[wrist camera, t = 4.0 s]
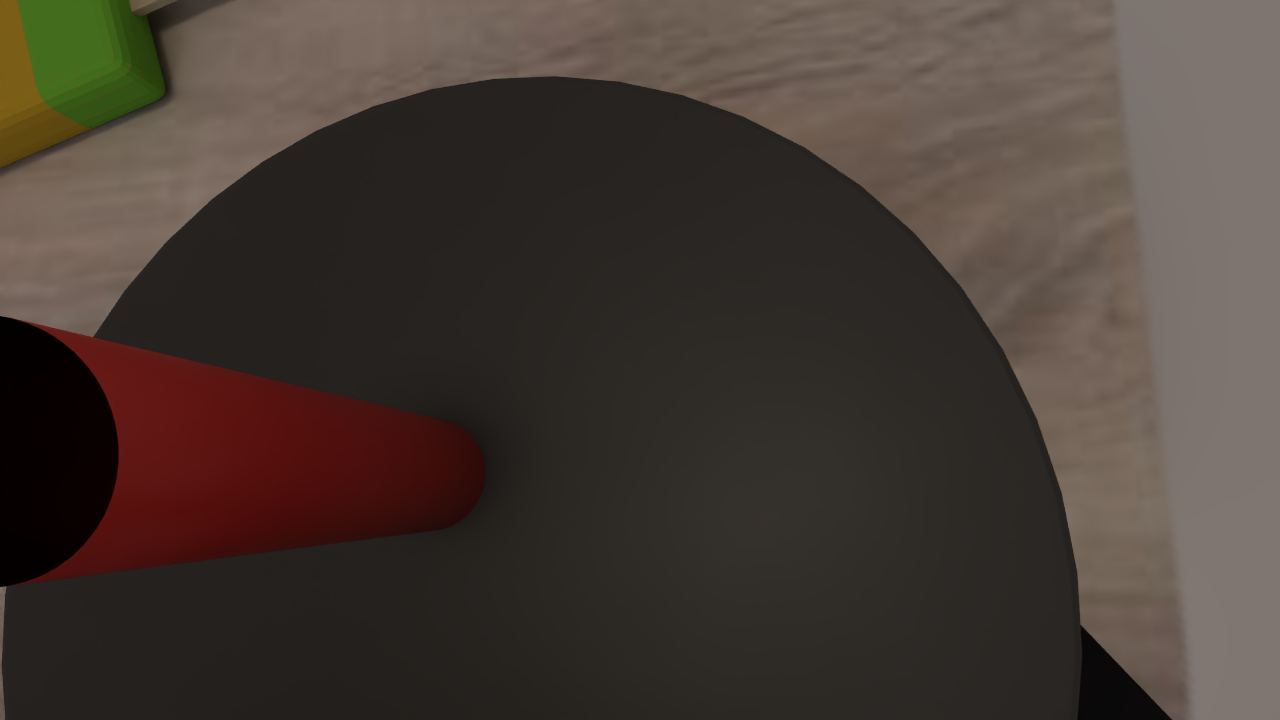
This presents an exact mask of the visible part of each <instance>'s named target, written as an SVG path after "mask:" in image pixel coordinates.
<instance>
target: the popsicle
mask: <svg viewBox="0 0 1280 720" xmlns="http://www.w3.org/2000/svg"><path fill="white" fill-rule="evenodd" d="M175 1H177V0H0V168H1V167H4V166H6V165H8V164H11V163H13V162H15V161H17V160H20V159H22V158H24V157H27V156H29V155H31V154H34V153H36V152H38V151H41V150H43V149H45V148H48V147H50V146H52V145H55V144H57V143H59V142H62V141H64V140H66V139H69V138H71V137H73V136H76V135H78V134H80V133H83V132H85V131H87V130H90V129H92V128H94V127H97V126H99V125H101V124H103V123H106V122H108V121H110V120H113V119H115V118H117V117H120V116H122V115H124V114H127V113H129V112H131V111H134V110H136V109H138V108H141V107H143V106H145V105H148V104H150V103H152V102H155V101H157V100H158V99H160V98H161V97H162V96H163V95H164V94H165V90H166V89H165V83H164V79H163V75H162V71H161V67H160V64H159V60H158V56H157V52H156V48H155V44H154V41H153V37H152V33H151V29H150V25H149V21H148V17H147V14H148V13H150V12H152V11H155V10H157V9H159V8H161V7H164V6H166V5H168V4H171V3H173V2H175Z"/></svg>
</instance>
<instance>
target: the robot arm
mask: <svg viewBox="0 0 1280 720" xmlns="http://www.w3.org/2000/svg"><path fill="white" fill-rule="evenodd" d="M1080 627H1081V644H1082V665H1081V678H1080V691H1079V705H1078V718H1077V720H1172V719H1171V718H1170V717H1169V716H1168V715H1167V714H1166V713H1165V712H1164V711H1163V710H1162V709H1161V708H1160V707H1159V706H1158V705H1157V704H1156V703H1155V702H1154V701H1153V700H1152V699H1151V697H1150V696H1149V695H1148V694H1147V693H1146V692H1145V691H1144V690H1143V689H1142V688H1141V687H1140V686H1139V685H1138V684H1137V683H1136V682H1135V681H1134V680H1133V679H1132V678H1131V677H1130V676H1129V675H1128V674H1127V673H1126V672H1125V670H1124V669H1123V668H1122V667H1121V666H1120V665H1119V664H1118V663H1117V662H1116V661H1115V660H1114V659H1113V658H1112V657H1111V656H1110V655H1109V654H1108V653H1107V652H1106V651H1105V650H1104V649H1103V648H1102V647H1101V646H1100V645H1099V643H1098V642H1097V641H1096V640H1095V639H1094V638H1093V637H1092V636H1091V635H1090V634H1089V633H1088V632H1087V631H1086V630H1085V629H1084V628H1083V627H1082V626H1081V625H1080Z"/></svg>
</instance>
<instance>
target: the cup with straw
mask: <svg viewBox="0 0 1280 720" xmlns="http://www.w3.org/2000/svg"><path fill="white" fill-rule="evenodd" d="M4 586H7V588H6V594H5V610H4V632H3V653H2V674H3V690H4V705H5V720H1077V718H1078V705H1079V691H1080V678H1081V665H1082V644H1081V627H1080V611H1079V594H1078V577H1077V569H1076V564H1075V559H1074V554H1073V549H1072V544H1071V538H1070V533H1069V528H1068V523H1067V518H1066V513H1065V508H1064V503H1063V497H1062V493H1061V490H1060V487H1059V484H1058V481H1057V478H1056V475H1055V472H1054V469H1053V466H1052V463H1051V460H1050V457H1049V454H1048V451H1047V448H1046V445H1045V442H1044V439H1043V436H1042V433H1041V430H1040V427H1039V424H1038V421H1037V419H1036V417H1035V415H1034V413H1033V411H1032V408H1031V406H1030V404H1029V402H1028V400H1027V398H1026V396H1025V394H1024V392H1023V390H1022V388H1021V386H1020V384H1019V382H1018V380H1017V378H1016V376H1015V374H1014V372H1013V370H1012V368H1011V366H1010V363H1009V361H1008V359H1007V357H1006V355H1005V353H1004V351H1003V349H1002V348H1001V346H1000V345H999V343H998V342H997V340H996V339H995V337H994V336H993V334H992V333H991V331H990V330H989V328H988V327H987V325H986V324H985V322H984V321H983V319H982V318H981V316H980V315H979V313H978V312H977V310H976V309H975V307H974V306H973V304H972V303H971V301H970V300H969V298H968V297H967V295H966V294H965V292H964V291H963V289H962V288H961V286H960V285H959V284H958V283H957V282H956V281H955V280H954V278H953V277H952V276H951V275H950V274H949V273H948V272H947V270H946V269H945V268H944V267H943V266H942V265H941V263H940V262H939V261H938V260H937V259H936V258H935V257H934V255H933V254H932V253H931V252H930V251H929V250H928V248H927V247H926V246H925V245H924V244H923V243H922V242H921V240H920V239H919V238H918V237H917V236H916V235H915V234H914V233H913V232H912V231H911V230H910V229H909V228H908V227H907V226H906V225H904V224H903V223H902V222H901V221H900V220H899V219H898V218H897V217H895V216H894V215H893V214H892V213H891V212H890V211H889V210H888V209H886V208H885V207H884V206H883V205H882V204H881V203H880V202H879V201H877V200H876V199H875V198H874V197H873V196H872V195H871V194H870V193H868V192H867V191H866V190H865V189H864V188H863V187H862V186H860V185H859V184H857V183H856V182H854V181H853V180H851V179H850V178H848V177H847V176H845V175H844V174H842V173H841V172H840V171H838V170H837V169H835V168H834V167H832V166H831V165H829V164H828V163H826V162H825V161H823V160H822V159H820V158H819V157H817V156H816V155H814V154H813V153H812V152H810V151H809V150H807V149H806V148H804V147H802V146H800V145H798V144H796V143H794V142H792V141H790V140H788V139H786V138H784V137H782V136H781V135H779V134H777V133H775V132H773V131H771V130H769V129H767V128H765V127H763V126H761V125H759V124H757V123H755V122H753V121H751V120H749V119H747V118H745V117H742V116H740V115H737V114H734V113H731V112H728V111H725V110H723V109H720V108H717V107H714V106H711V105H708V104H705V103H703V102H700V101H697V100H694V99H691V98H688V97H686V96H683V95H679V94H674V93H669V92H665V91H660V90H655V89H651V88H646V87H641V86H636V85H632V84H627V83H622V82H616V81H604V80H592V79H580V78H568V77H556V76H555V77H531V78H507V79H491V80H485V81H479V82H473V83H467V84H461V85H455V86H449V87H443V88H437V89H431V90H428V91H424V92H421V93H418V94H414V95H411V96H407V97H404V98H401V99H397V100H394V101H390V102H387V103H384V104H380V105H377V106H373V107H371V108H369V109H366V110H364V111H362V112H359V113H357V114H355V115H352V116H350V117H348V118H345V119H343V120H341V121H338V122H336V123H334V124H331V125H329V126H327V127H324V128H322V129H320V130H317V131H315V132H314V133H312V134H310V135H308V136H307V137H305V138H303V139H301V140H300V141H298V142H296V143H294V144H293V145H291V146H289V147H288V148H286V149H284V150H282V151H281V152H279V153H277V154H275V155H274V156H272V157H270V158H268V159H267V160H265V161H263V162H262V163H260V164H259V165H258V166H256V167H255V168H254V169H252V170H251V171H250V172H248V173H247V174H246V175H244V176H243V177H241V178H240V179H239V180H237V181H236V182H235V183H233V184H232V185H231V186H229V187H228V188H227V189H225V190H224V191H223V192H221V193H220V194H219V195H217V196H216V197H215V198H213V199H212V200H211V201H210V202H209V203H208V204H207V205H206V206H204V207H203V208H202V209H201V210H200V211H199V212H198V213H197V214H196V215H195V216H194V217H193V218H192V219H191V220H189V221H188V222H187V223H186V224H185V225H184V226H183V227H182V228H181V229H180V230H179V231H178V232H177V233H176V234H175V235H173V236H172V237H171V238H170V239H169V240H168V241H167V242H166V243H165V244H164V245H163V247H162V248H161V249H160V250H159V251H158V252H157V254H156V255H155V256H154V257H153V258H152V259H151V261H150V262H149V263H148V264H147V265H146V267H145V268H144V269H143V270H142V271H141V272H140V274H139V275H138V276H137V277H136V278H135V279H134V281H133V282H132V283H131V284H130V285H129V286H128V288H127V289H126V290H125V291H124V293H123V294H122V296H121V297H120V299H119V300H118V302H117V303H116V304H115V306H114V307H113V309H112V310H111V312H110V313H109V315H108V316H107V318H106V319H105V321H104V322H103V324H102V325H101V327H100V328H99V330H98V331H97V333H96V334H95V335H94V337H89V336H85V335H81V334H77V333H72V332H68V331H64V330H60V329H55V328H51V327H47V326H43V325H38V324H34V323H30V322H26V321H21V320H17V319H13V318H8V317H2V316H0V587H4Z"/></svg>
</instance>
